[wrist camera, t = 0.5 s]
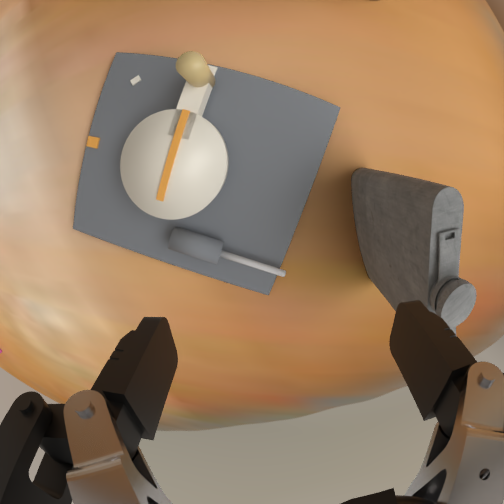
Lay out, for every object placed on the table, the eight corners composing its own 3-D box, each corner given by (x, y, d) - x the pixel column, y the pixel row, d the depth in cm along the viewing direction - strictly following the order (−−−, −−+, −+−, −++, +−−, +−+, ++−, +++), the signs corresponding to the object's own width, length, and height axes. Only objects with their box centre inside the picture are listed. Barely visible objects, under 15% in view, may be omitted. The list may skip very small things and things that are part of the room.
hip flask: (388, 277, 36) (465, 368, 17) (363, 285, 36) (430, 387, 18) (371, 165, 31) (484, 189, 12) (342, 172, 31) (441, 202, 12)
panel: (120, 54, 26) (115, 51, 24) (337, 109, 28) (341, 107, 27) (77, 226, 34) (71, 229, 33) (268, 290, 37) (268, 296, 35)
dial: (210, 227, 32) (198, 247, 25) (120, 199, 31) (90, 211, 24) (259, 85, 26) (259, 66, 20) (160, 63, 25) (137, 44, 18)
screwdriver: (172, 245, 33) (166, 251, 31) (178, 224, 33) (172, 229, 30) (279, 279, 35) (281, 288, 32) (287, 259, 34) (290, 267, 31)
